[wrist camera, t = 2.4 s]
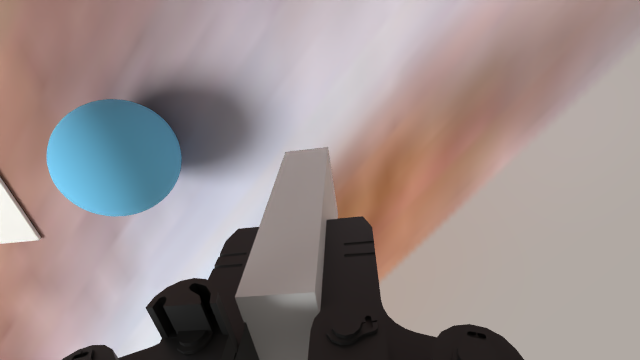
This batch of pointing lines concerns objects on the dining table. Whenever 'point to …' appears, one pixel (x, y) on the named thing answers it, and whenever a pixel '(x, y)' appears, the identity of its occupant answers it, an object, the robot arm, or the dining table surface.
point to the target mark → (14, 219)
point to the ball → (114, 157)
